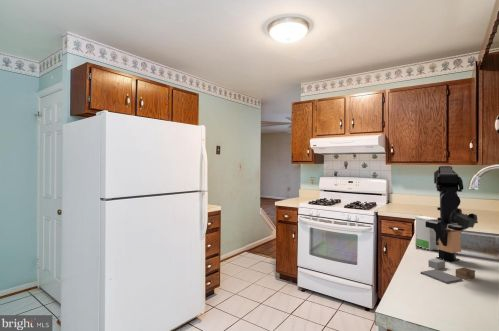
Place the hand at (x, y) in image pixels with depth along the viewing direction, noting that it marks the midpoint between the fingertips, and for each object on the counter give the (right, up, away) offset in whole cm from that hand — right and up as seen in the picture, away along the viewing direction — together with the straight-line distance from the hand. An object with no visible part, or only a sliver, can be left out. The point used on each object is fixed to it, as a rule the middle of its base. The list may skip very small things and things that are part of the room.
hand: (449, 245), depth 105 cm
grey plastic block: (-2, -11, +5) cm, 12 cm away
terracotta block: (0, -2, 0) cm, 2 cm away
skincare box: (+13, -11, +32) cm, 37 cm away
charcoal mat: (-7, -11, -4) cm, 13 cm away
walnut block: (+2, -11, -5) cm, 12 cm away
